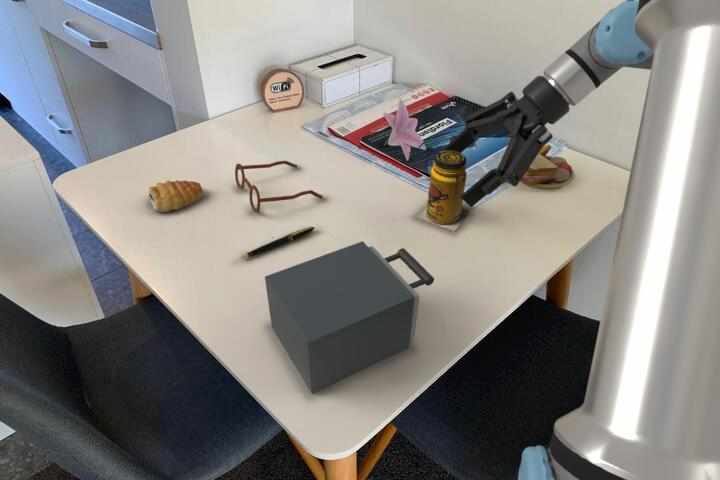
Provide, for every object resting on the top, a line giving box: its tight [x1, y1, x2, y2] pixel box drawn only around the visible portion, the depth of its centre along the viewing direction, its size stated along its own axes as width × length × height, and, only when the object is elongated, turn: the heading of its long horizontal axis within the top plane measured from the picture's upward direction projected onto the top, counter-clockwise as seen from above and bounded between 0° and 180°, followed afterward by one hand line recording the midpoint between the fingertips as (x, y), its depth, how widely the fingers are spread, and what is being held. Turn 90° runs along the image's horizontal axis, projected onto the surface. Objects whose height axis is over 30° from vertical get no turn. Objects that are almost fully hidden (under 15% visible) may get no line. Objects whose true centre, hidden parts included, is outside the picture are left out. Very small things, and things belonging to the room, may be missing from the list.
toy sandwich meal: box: [513, 144, 575, 191], centre depth 103 cm, size 12×14×5 cm
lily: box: [383, 97, 426, 162], centre depth 110 cm, size 12×12×10 cm
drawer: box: [368, 245, 435, 340], centre depth 70 cm, size 18×11×8 cm, turn 120°
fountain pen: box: [239, 226, 316, 259], centre depth 86 cm, size 14×1×2 cm, turn 126°
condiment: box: [417, 150, 475, 232], centre depth 90 cm, size 7×8×12 cm
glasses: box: [234, 160, 324, 213], centre depth 98 cm, size 13×13×5 cm
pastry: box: [147, 179, 204, 213], centre depth 95 cm, size 9×7×4 cm
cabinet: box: [264, 240, 415, 395], centre depth 68 cm, size 15×13×10 cm
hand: (453, 179), depth 90 cm, fingers open, 13 cm apart
